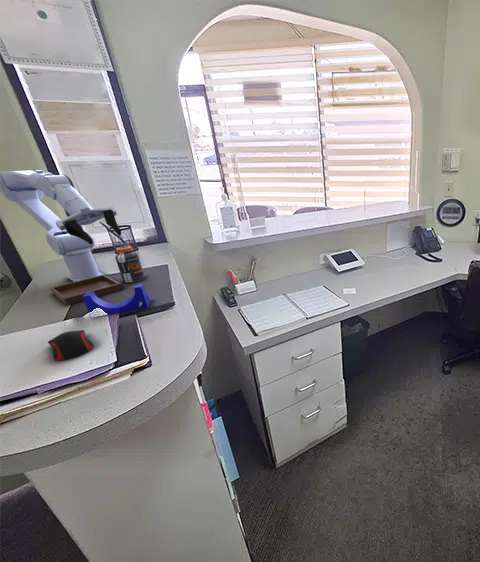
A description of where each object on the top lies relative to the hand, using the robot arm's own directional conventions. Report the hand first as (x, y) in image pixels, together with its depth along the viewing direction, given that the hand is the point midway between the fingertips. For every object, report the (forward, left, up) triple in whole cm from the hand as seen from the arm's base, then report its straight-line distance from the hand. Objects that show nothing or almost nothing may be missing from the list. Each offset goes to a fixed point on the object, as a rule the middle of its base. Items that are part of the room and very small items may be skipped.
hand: (106, 237), depth 94 cm
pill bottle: (-2, +4, -16) cm, 16 cm away
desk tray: (-3, -8, -16) cm, 18 cm away
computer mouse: (+35, -20, -16) cm, 43 cm away
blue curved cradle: (+22, -7, -16) cm, 28 cm away
